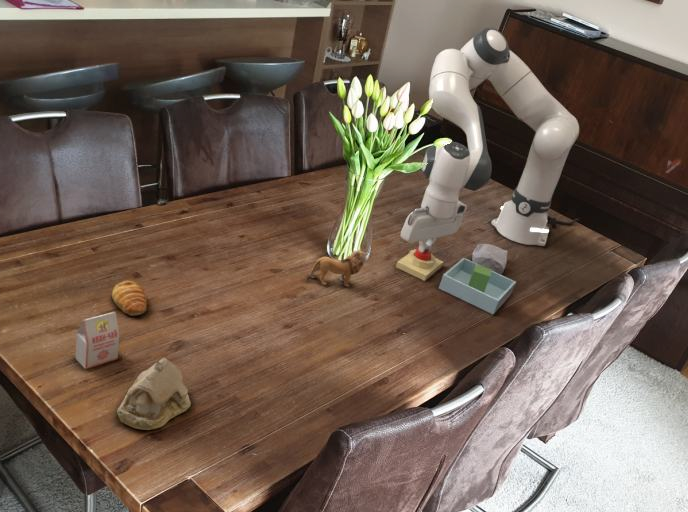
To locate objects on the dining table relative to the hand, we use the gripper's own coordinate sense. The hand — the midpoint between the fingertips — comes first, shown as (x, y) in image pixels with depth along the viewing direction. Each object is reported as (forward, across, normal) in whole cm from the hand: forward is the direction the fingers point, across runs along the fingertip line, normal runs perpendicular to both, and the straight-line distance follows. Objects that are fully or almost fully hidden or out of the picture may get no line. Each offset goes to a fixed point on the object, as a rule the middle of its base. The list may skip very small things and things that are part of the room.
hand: (423, 250), depth 206 cm
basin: (+5, +6, -16) cm, 18 cm away
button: (+2, 0, 0) cm, 2 cm away
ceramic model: (+5, -93, -20) cm, 96 cm away
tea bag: (+5, -96, -3) cm, 96 cm away
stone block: (+5, +24, -6) cm, 25 cm away
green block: (+4, +6, -16) cm, 18 cm away
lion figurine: (+5, -29, +2) cm, 30 cm away
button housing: (+5, 0, 0) cm, 5 cm away
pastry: (+5, -81, +11) cm, 82 cm away
